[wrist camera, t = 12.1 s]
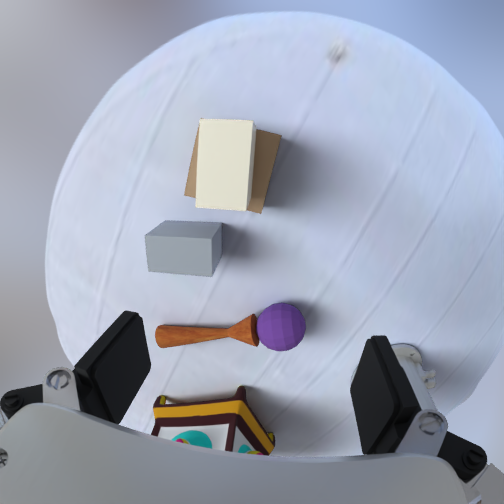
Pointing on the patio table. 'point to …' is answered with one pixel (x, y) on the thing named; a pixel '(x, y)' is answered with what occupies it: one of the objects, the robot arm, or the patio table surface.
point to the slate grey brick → (184, 247)
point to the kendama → (244, 330)
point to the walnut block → (261, 172)
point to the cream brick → (225, 164)
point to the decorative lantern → (213, 425)
